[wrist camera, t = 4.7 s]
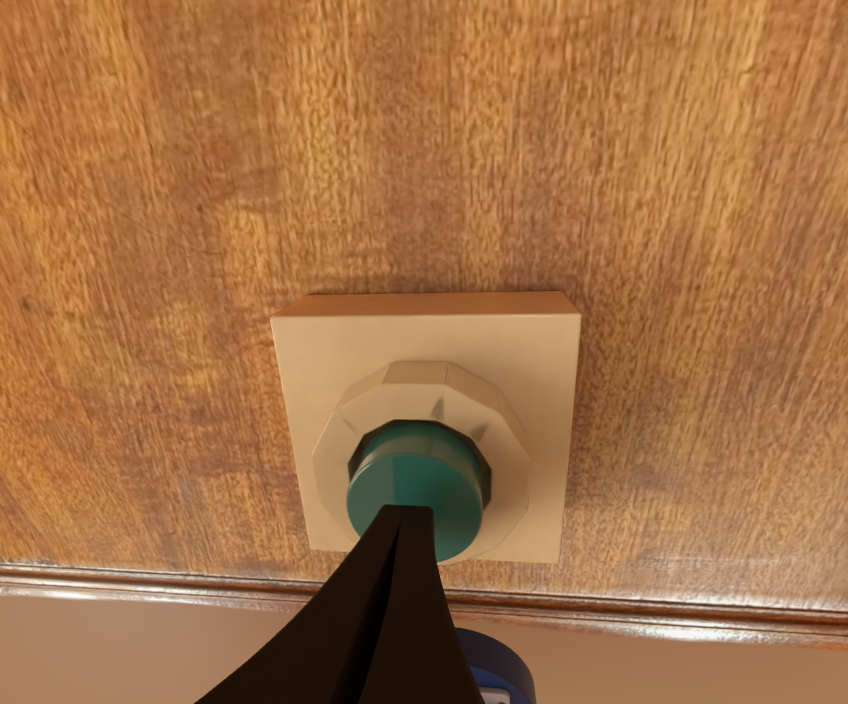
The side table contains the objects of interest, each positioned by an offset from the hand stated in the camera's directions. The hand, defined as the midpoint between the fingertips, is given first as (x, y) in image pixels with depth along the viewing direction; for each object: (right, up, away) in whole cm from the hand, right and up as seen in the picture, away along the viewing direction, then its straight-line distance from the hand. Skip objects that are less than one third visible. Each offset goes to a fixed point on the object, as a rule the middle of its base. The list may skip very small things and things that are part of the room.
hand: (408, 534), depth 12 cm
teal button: (0, +1, +2) cm, 3 cm away
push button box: (+1, +3, +7) cm, 7 cm away
